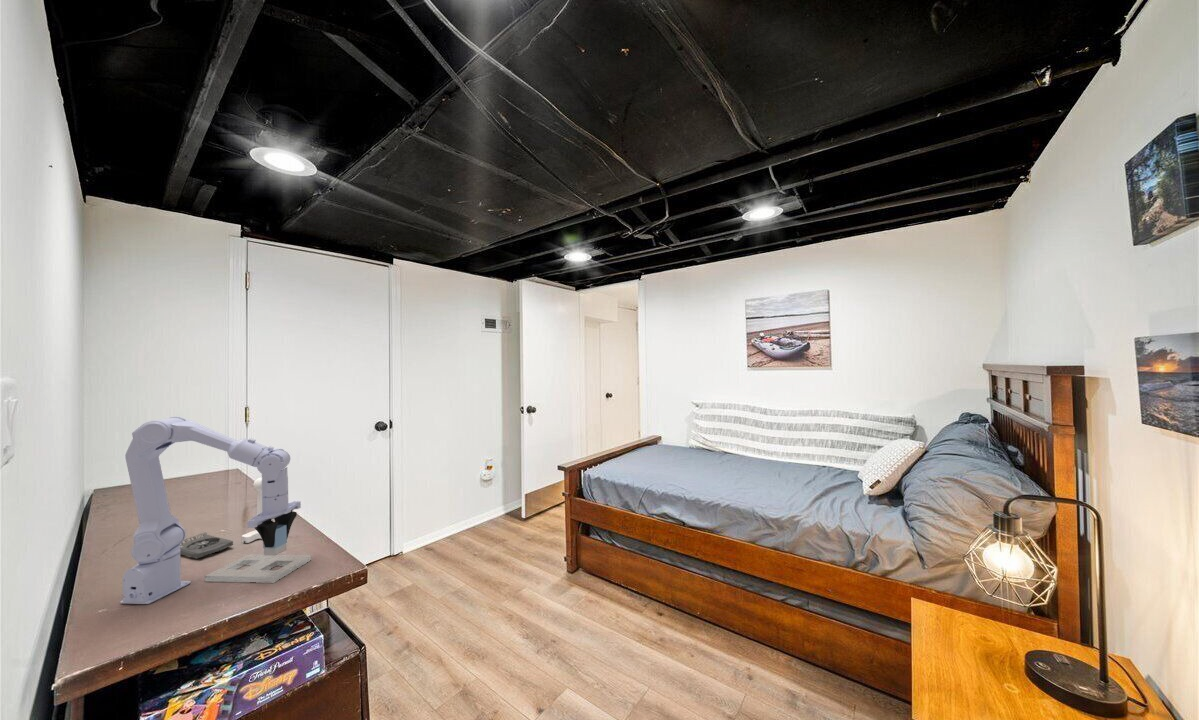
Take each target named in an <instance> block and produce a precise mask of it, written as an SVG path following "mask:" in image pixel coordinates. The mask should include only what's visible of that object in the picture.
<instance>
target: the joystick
mask: <svg viewBox="0 0 1199 720" xmlns="http://www.w3.org/2000/svg"><path fill="white" fill-rule="evenodd" d="M252 486H253V489H255V491H257V497H256V498H257V499H256V500H257V502H256V515H255V516H257V515H258V514H260V513H262V476H261V477H258V478H256V479H255V480H254V482H253V484H252ZM259 539H261V540H262V538H261V536H260V534H259V533H258V531H257V530H256V529H254V530H252V531H249V532H247V533H245V534H242V535H241V544H245V543H246V544H249V543H251V542H253V541H256V540H259ZM244 542H245V543H244Z"/></svg>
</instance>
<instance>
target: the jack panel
mask: <svg viewBox="0 0 1199 720" xmlns="http://www.w3.org/2000/svg"><path fill="white" fill-rule="evenodd" d="M310 560H311V561H312V555H309V554H308V555H307V554H278V555H276V556H268V555H264V553H263V554H257V553H256V554H255V553H254V554H253V553H251V554H249V553H248V554H245V555H244V556H241V557H240V558H238V559H236V560H234V561H231V562H230V563H228V564H225V565H224V566H221V567H220V568H218V569H216V570H214V571H212V572H209V573H208V574H206V575H204V582H209V583H210V582H215V583H250V582H256V583H257V584H262V583H263V584H274V583H276V582H278V581H280V580H281V579H283V578H285V577H286V576H288V575H289V574H292V571H293V572H294V571H296V570H298V569H300V568H301V567H303V566H304V565H306V564H308V563H309V562H311V561H310ZM307 562H308V563H307ZM302 565H303V566H302ZM244 566H248V567H246V568H244V569H240V568H242V567H244ZM273 567H274V568H275V567H280V568H278V569H277V570H272V569H274V568H273ZM271 568H272V569H271ZM297 568H298V569H297ZM284 576H285V577H284ZM279 579H280V580H279ZM256 583H255V584H256Z"/></svg>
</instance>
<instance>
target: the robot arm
mask: <svg viewBox="0 0 1199 720" xmlns="http://www.w3.org/2000/svg"><path fill="white" fill-rule="evenodd" d="M131 435H132V440H131V442H130V444H129V446H128V448H127V450H126V452H125V463H126V467H127V472H128V476H129V480H130V486H131V490H132V495H133V500H134V504H135V510H136V514H137V517H138V523H139V525H138V527H137V528H136V530H135V531H134V534H133V536H132V539H133V545H132V546H131V549H130V555H131V557H132V559H134V561H136V562H137V564H135V565H134V566H133V567H130V568H129V569H127V570H126V571H124V573H123V575H122V600H120V601H119V603H120V604H128V605H129V604H131V605H134V604H135V605H149V604H152V603H154V602H156V601H158V600H160V599H162V598H164V597H166V596H168V595H169V594H172V593H174V592H176V591H178V590H180V589H181V588H184V587H186V586H188V585H190V584H192V581H190V580H182V577H181V575H182V571H181V570H182V569H181V568H182V566H181V565H182V564H181V555H180V545H181V543H182V542H183V543H184V542H185V541H184V539H186V536H187V532H186V529H185V528H184V527H183V526H182V525H181V524H180V521H179V518H178V517H176V516H175V515H172V513H171V509H170V505H169V500H168V494H167V490H166V486H165V481H164V475H163V472H162V471H163V470H162V466H161V461H160V455H162V454H163V453H164V452H165V451H166V450H167V449H168V448H169V447H170V446H172V445H173V444H175V443H182V442H196V443H199V444H201V445H204V446H209V447H211V448H213V449H214V448H215V449H217V450H221V451H225V452H226V453H227V455H228V458H229V459H232V460H234V461H237V462H239V463H243V464H245V465H248V466H251V467H254V468H256V469H257V471H259V473H261V477H262V513H260V514H258V515H257V516H256V515H255V516H253V517H252V518H250V519H248V520H246V521H247V523H246V524H247V525H246V527H247V529H248V528H249V529H254V530H257V531H258V533H259V534H260V536H261V538H262V539H261V538H260V539H261V540H262V544H263V543H264V545H265V547H273V546H274V543H275V532H276V528H277V525H287V539H288V538H289V534H290V531H291V527H292V524H293V523H294V521H295V519H296V517H297V516H298V512H297V511H294V510H299V509H301V507H302V506H301V505H302V504H301V501H299V500H298V501H297V500H296V501H295V500H294V501H292V502H289V476H288V467H287V466H288V465H289V464H290V462H291V456H290V453H289V452H288V451H286V450H285V449H283V448H276V449H275V448H274V447H273V446H271V445H270V446H265V445H263V444H261V443H257V442H256V439H254V438H252V437H251V438H241V439H238V440H236V439H234V438H232V437H230V436H227V435H225V434H223V433H220V432H218V431H215V430H213V429H211V428H209V427H207V426H204V425H201V424H199V423H198V422H196V421H194V420H189V419H186V418H184V417H180V416H171V417H169V418H164V419H159V420H151V421H150V420H149V421H147V422H145V423H142V424H141V425H140V426H139V427H138V428H136V429H135V430H134V431H132V432H131ZM273 519H274V521H273Z"/></svg>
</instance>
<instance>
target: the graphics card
mask: <svg viewBox="0 0 1199 720" xmlns="http://www.w3.org/2000/svg"><path fill="white" fill-rule="evenodd" d="M233 545H234V540H231V539H226V538H222V537H218V536H214V535H210V534H208V532H202V533H199V534H196V535H193V536H190V537H187V538H186V537H185V539H184V541H183V542H182V543H181V544H180V556H181V555H182V556H186V557H188V558H193V559H200V558H202V557H205V556H208V554H209V555H210V554H211V555H212V553H215V552H219V550H220V551H223V550H225V549H227V548H228V547H232V546H233Z"/></svg>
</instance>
